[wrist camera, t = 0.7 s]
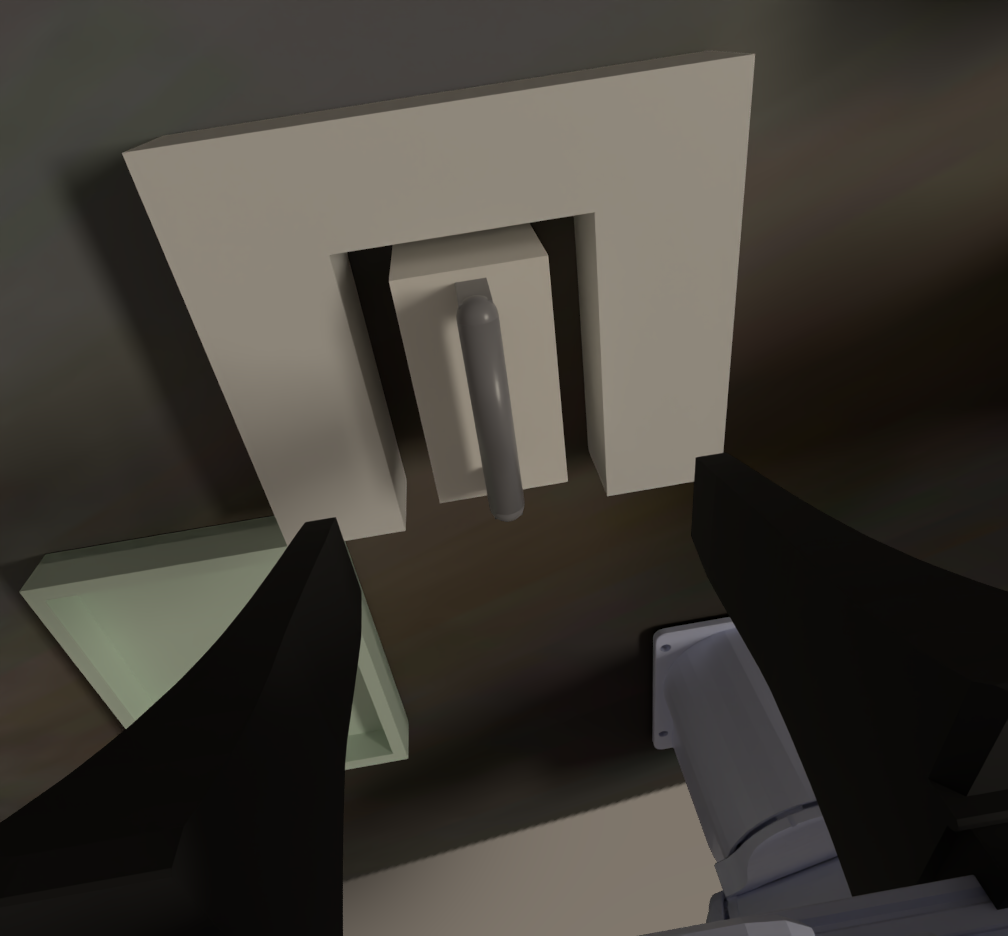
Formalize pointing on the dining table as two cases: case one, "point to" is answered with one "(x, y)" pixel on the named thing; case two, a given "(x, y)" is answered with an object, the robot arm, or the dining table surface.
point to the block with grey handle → (483, 362)
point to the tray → (188, 621)
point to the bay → (456, 210)
